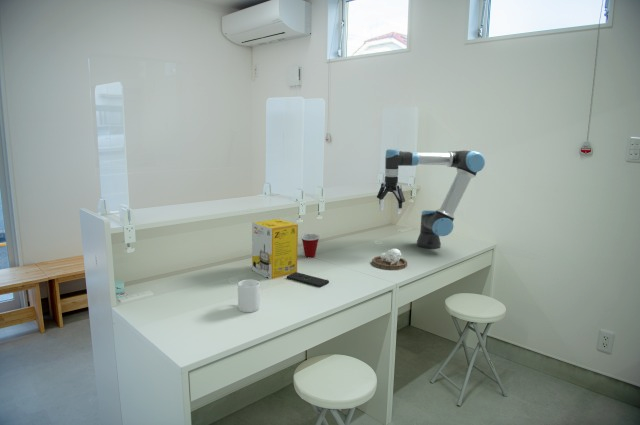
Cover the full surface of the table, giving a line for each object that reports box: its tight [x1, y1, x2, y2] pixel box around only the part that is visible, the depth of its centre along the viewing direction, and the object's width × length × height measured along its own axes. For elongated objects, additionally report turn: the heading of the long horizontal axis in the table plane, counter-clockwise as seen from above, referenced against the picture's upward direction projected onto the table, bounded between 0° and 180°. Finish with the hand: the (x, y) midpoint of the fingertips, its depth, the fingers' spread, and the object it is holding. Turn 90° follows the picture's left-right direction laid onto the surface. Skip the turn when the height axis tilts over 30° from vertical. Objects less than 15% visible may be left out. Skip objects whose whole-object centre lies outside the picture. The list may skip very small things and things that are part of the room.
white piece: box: [380, 248, 402, 265], centre depth 232 cm, size 6×8×12 cm
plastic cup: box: [300, 233, 320, 259], centre depth 242 cm, size 11×11×12 cm
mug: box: [237, 279, 261, 313], centre depth 171 cm, size 9×12×11 cm
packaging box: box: [251, 218, 299, 280], centre depth 213 cm, size 16×16×25 cm
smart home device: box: [286, 271, 330, 288], centre depth 204 cm, size 8×2×20 cm
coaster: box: [371, 255, 408, 271], centre depth 233 cm, size 18×18×2 cm
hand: (390, 212), depth 251 cm, fingers open, 13 cm apart
